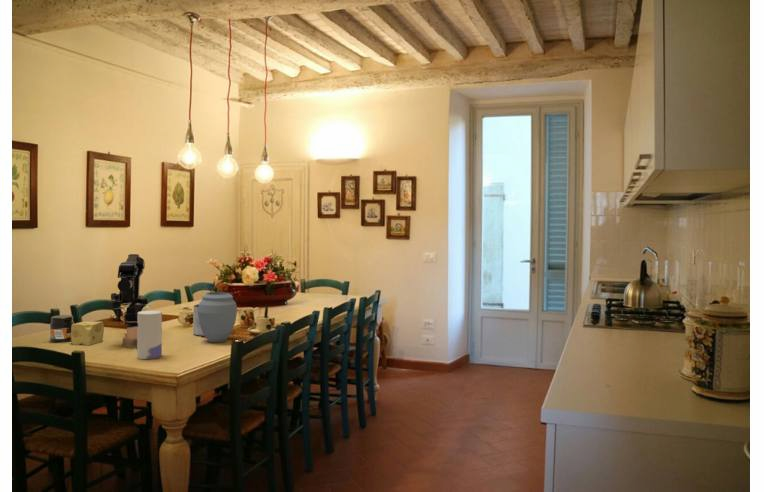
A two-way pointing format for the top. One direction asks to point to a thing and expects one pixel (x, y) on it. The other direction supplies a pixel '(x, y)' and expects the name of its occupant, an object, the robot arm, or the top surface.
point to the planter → (196, 322)
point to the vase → (217, 315)
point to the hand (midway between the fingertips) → (127, 320)
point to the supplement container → (61, 328)
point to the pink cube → (132, 333)
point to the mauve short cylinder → (129, 343)
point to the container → (149, 334)
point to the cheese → (87, 332)
